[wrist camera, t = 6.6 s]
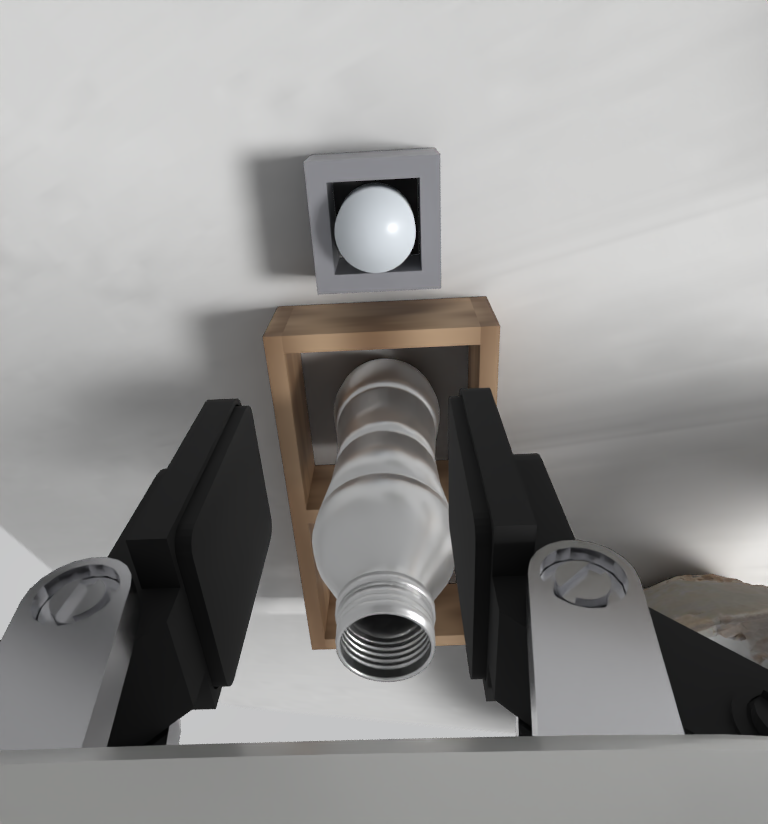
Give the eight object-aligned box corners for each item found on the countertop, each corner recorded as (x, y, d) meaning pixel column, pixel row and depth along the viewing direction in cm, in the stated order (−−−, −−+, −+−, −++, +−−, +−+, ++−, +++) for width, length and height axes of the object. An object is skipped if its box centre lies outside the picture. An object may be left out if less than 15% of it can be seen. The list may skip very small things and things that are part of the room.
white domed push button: (412, 180, 31) (414, 187, 28) (414, 258, 32) (416, 271, 30) (334, 184, 31) (330, 192, 29) (341, 262, 33) (338, 274, 30)
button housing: (434, 147, 32) (440, 154, 29) (436, 270, 35) (441, 288, 32) (311, 154, 32) (303, 161, 29) (323, 276, 35) (317, 294, 32)
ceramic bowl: (518, 710, 54) (543, 831, 45) (553, 506, 43) (595, 614, 34) (764, 712, 54) (837, 833, 45) (862, 508, 43) (983, 616, 34)
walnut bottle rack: (486, 296, 36) (499, 325, 31) (477, 592, 47) (486, 644, 43) (277, 306, 36) (262, 337, 32) (319, 597, 47) (312, 649, 43)
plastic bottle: (359, 450, 41) (338, 724, 23) (320, 365, 38) (261, 606, 20) (449, 422, 40) (498, 687, 22) (416, 332, 37) (443, 556, 19)
